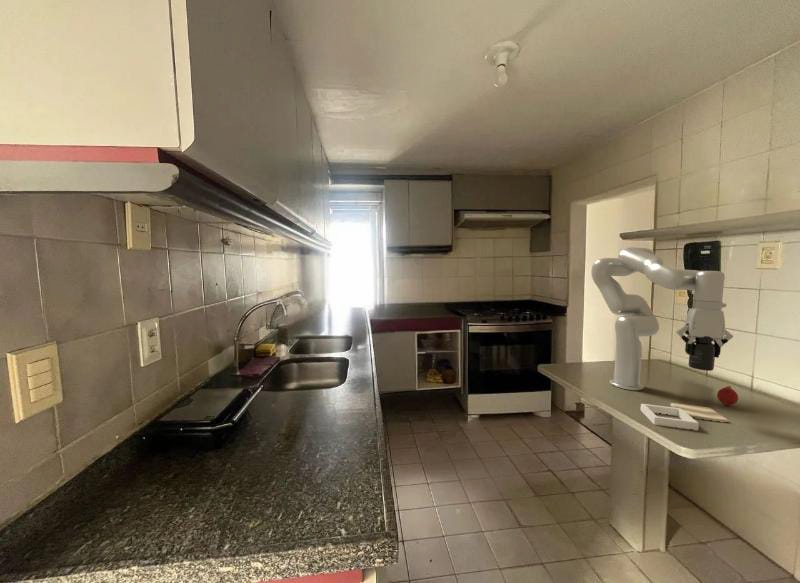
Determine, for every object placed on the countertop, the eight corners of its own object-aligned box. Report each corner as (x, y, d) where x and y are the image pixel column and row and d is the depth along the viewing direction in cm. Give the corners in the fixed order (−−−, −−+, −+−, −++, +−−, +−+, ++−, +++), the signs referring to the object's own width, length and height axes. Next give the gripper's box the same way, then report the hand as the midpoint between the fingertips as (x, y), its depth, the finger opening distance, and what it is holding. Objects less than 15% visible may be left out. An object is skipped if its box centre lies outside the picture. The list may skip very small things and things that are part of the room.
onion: (732, 410, 126) (734, 389, 125) (713, 404, 131) (715, 384, 130) (740, 407, 128) (742, 387, 127) (721, 402, 133) (723, 382, 133)
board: (670, 405, 129) (670, 402, 128) (709, 410, 125) (709, 407, 125) (685, 417, 118) (685, 414, 118) (727, 422, 115) (728, 420, 114)
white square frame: (640, 410, 123) (641, 403, 123) (679, 415, 120) (680, 408, 120) (654, 424, 112) (654, 417, 112) (698, 430, 108) (698, 423, 108)
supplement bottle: (718, 372, 116) (722, 337, 115) (695, 370, 118) (699, 336, 117) (705, 366, 123) (708, 333, 122) (683, 364, 124) (686, 332, 124)
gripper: (731, 306, 120) (725, 355, 121) (672, 303, 125) (668, 350, 126) (745, 308, 112) (739, 361, 114) (682, 305, 118) (677, 355, 119)
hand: (701, 355), depth 120 cm, fingers closed on supplement bottle, 6 cm apart
